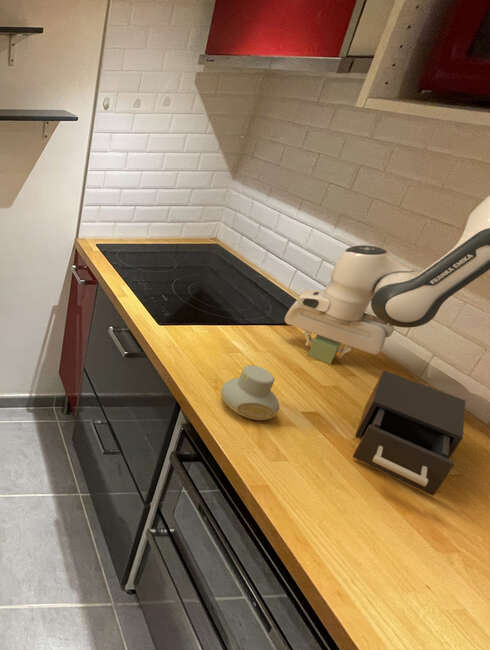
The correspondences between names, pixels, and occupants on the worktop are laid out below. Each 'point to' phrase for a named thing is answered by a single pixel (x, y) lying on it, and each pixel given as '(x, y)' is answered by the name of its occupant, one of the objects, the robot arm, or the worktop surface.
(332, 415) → the worktop surface
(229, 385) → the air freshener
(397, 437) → the open nightstand drawer
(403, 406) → the small drawer unit
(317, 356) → the block
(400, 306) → the robot arm
